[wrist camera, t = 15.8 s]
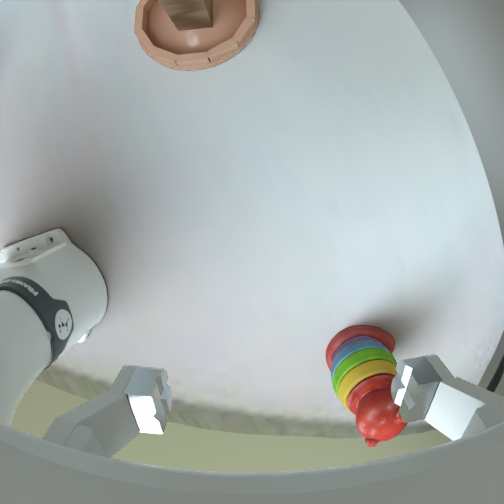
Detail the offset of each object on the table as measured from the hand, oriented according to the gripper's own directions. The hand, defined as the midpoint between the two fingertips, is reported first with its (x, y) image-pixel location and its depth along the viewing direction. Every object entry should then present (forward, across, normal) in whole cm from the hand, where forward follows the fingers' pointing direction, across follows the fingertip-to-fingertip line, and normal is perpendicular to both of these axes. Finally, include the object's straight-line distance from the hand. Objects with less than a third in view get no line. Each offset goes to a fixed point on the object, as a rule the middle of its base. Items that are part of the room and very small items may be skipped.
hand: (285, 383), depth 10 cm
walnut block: (+30, +8, -27) cm, 41 cm away
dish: (+31, +8, -27) cm, 42 cm away
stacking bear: (+31, -14, +21) cm, 40 cm away
